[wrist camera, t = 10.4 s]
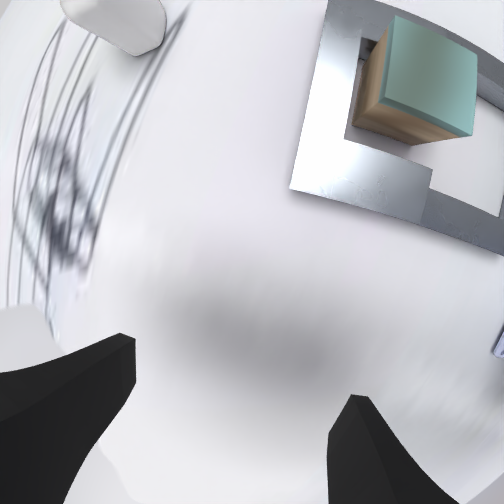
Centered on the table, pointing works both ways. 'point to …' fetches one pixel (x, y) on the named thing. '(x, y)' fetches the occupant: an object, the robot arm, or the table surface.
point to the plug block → (417, 86)
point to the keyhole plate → (372, 160)
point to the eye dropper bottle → (120, 21)
